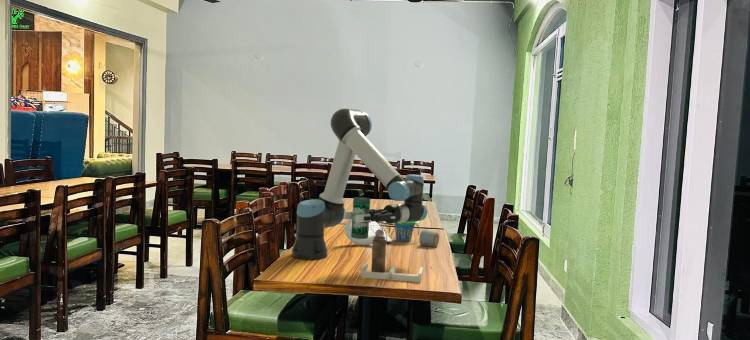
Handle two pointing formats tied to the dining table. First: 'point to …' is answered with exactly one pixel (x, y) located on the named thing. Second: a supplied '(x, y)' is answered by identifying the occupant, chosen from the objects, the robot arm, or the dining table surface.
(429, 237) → the ceramic mug
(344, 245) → the dining table surface
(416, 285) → the dining table surface
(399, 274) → the caddy
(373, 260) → the pepper mill
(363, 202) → the can
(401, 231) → the snack cup
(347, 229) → the white curved horn
